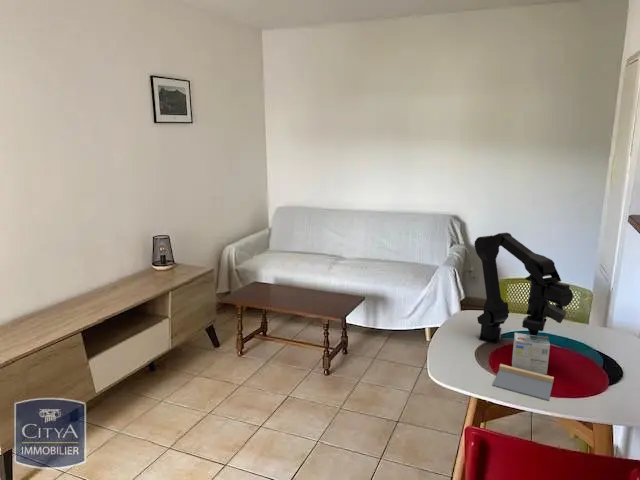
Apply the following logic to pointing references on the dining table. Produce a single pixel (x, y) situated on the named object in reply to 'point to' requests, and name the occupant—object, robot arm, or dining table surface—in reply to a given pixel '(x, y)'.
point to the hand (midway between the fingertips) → (533, 339)
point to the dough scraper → (524, 382)
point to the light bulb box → (531, 353)
